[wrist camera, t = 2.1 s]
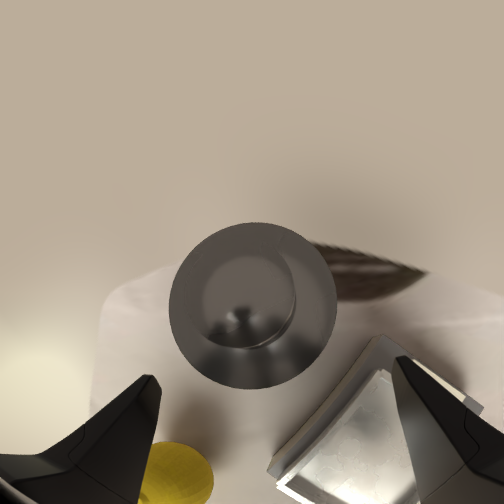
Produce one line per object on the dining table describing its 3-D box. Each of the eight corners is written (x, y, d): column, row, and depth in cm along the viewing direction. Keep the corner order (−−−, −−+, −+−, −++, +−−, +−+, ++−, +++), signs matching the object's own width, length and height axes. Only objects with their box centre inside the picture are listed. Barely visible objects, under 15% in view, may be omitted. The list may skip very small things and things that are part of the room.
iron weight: (330, 330, 19) (382, 267, 6) (290, 380, 18) (250, 436, 5) (280, 294, 20) (228, 172, 7) (241, 342, 19) (116, 304, 6)
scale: (464, 403, 14) (498, 409, 10) (372, 514, 12) (384, 545, 8) (372, 337, 18) (391, 331, 13) (272, 456, 16) (261, 483, 11)
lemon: (180, 418, 18) (116, 439, 11) (241, 460, 16) (203, 508, 9) (149, 462, 17) (86, 490, 9) (204, 502, 15) (158, 550, 8)
